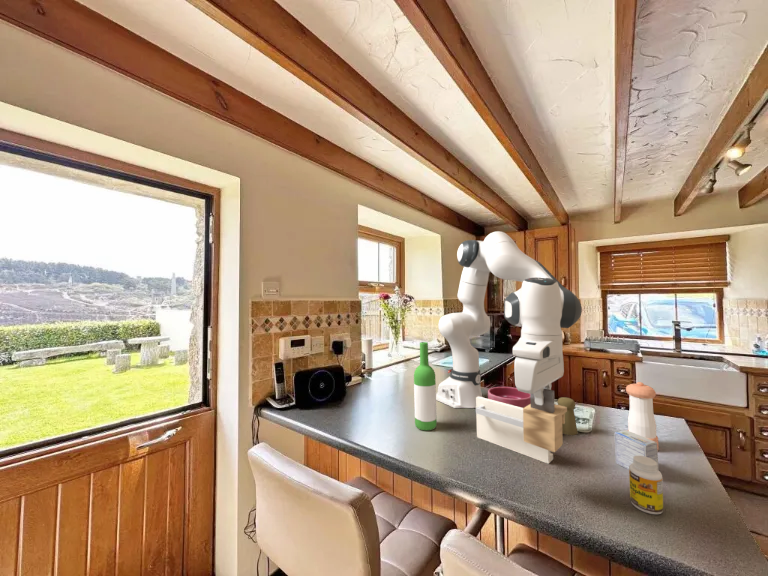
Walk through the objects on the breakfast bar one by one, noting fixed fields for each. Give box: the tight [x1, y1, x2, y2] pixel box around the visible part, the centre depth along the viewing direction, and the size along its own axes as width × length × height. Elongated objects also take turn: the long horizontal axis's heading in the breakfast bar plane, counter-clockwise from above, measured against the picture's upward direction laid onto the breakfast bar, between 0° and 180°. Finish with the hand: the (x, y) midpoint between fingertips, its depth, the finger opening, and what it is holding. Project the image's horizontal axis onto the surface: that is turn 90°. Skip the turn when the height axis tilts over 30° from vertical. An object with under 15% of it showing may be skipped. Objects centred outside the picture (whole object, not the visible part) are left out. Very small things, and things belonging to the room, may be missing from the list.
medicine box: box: [614, 429, 660, 471], centre depth 81 cm, size 8×4×9 cm, turn 17°
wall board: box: [475, 396, 554, 465], centre depth 92 cm, size 22×7×13 cm, turn 42°
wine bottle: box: [413, 341, 438, 431], centre depth 110 cm, size 8×8×30 cm
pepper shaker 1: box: [557, 396, 579, 436], centre depth 104 cm, size 6×6×11 cm
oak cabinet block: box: [523, 389, 567, 453], centre depth 74 cm, size 7×8×13 cm
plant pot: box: [487, 386, 531, 408], centre depth 106 cm, size 14×14×13 cm
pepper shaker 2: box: [625, 381, 660, 452], centre depth 93 cm, size 7×7×19 cm
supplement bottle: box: [628, 456, 664, 515], centre depth 67 cm, size 6×6×10 cm
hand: (542, 402), depth 73 cm, fingers closed on oak cabinet block
